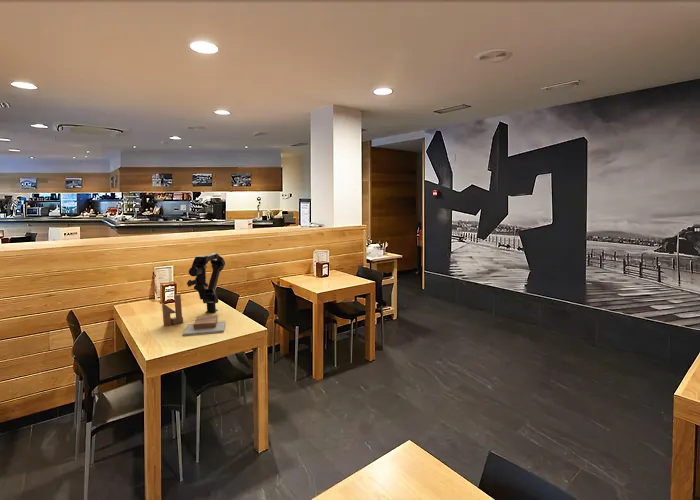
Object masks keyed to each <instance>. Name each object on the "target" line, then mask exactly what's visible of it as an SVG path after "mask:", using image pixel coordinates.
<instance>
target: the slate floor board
mask: <svg viewBox="0 0 700 500" xmlns="http://www.w3.org/2000/svg"><path fill="white" fill-rule="evenodd" d="M226 321H227V320H217V324H216V327H214V328H203V329H194V322H193V323H187V325H186V326H185V328H184V331H183V333H182V336H184V337H185V336H196V335H209V334H219V333H224V332H225V328H226Z"/></svg>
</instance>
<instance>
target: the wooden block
mask: <svg viewBox="0 0 700 500" xmlns="http://www.w3.org/2000/svg"><path fill="white" fill-rule="evenodd" d="M181 295H182V294H180V293H177V294H174V309H175V310H173V309H172V308H171V307H170V306H168V305H166V304H165V303H163V302H161V307H162V319H163V321H162V322H163V326H164V327H168V326H172V325H178V324H183V323H184V317H183V311H182V310H183V309H182V296H181ZM172 314H175V317H171V315H172Z"/></svg>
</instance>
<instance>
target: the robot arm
mask: <svg viewBox="0 0 700 500" xmlns="http://www.w3.org/2000/svg"><path fill="white" fill-rule="evenodd" d="M209 262H210V264H211V268H212V270H211V274H210V275H211V276H210V279H209V283H208V282H206V281H207V271H206V269H207V268H208V266H207V264H209ZM225 266H226V261H225V260H224V258H223V257H222V256H220V255H219V254H218V253H216V252H215V253H209V254H205V255H196V256H195V257H194V258H193V262H192V264H191V267H190V268H189V270H188V274H189V276H191V277H195V278H194V279H189V280H187V282H186V285H187V287H188V288H190V287H192V286H193V290H195V291H197V292H198V295H199V299H200V300H202V304H206V310H205V311H204V312H205V313H206V314H207V313H208V314H210V313H211V314H212V313H213V314H215V313H216V312H217V311H218V308H217V307H216V305H217V304H218V303H219V298H218V296H217V293H216V289H217V288H216V287H217V284H218V280H219V276H220V273H221V272H222V271H223V270H224V267H225Z"/></svg>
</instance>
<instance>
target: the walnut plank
mask: <svg viewBox="0 0 700 500" xmlns="http://www.w3.org/2000/svg"><path fill="white" fill-rule="evenodd" d="M217 321H219V320H218V315H205V316H203V315H202V316H196V319H195V320H194V322H193V323H194V329H203V328H214V327H216V324H217Z"/></svg>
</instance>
